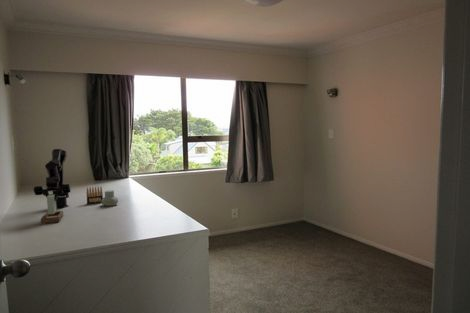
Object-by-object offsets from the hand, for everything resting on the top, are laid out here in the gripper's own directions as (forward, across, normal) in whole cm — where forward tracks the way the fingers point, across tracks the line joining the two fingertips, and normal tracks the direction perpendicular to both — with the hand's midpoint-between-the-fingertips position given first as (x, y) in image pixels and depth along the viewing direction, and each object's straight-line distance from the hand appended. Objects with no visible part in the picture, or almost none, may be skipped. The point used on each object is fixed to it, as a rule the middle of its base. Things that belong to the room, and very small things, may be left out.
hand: (51, 201), depth 191 cm
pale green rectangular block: (+4, 0, +5) cm, 7 cm away
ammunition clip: (-18, +21, +34) cm, 44 cm away
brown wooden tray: (+8, 0, +8) cm, 11 cm away
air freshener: (-10, +31, +26) cm, 42 cm away
